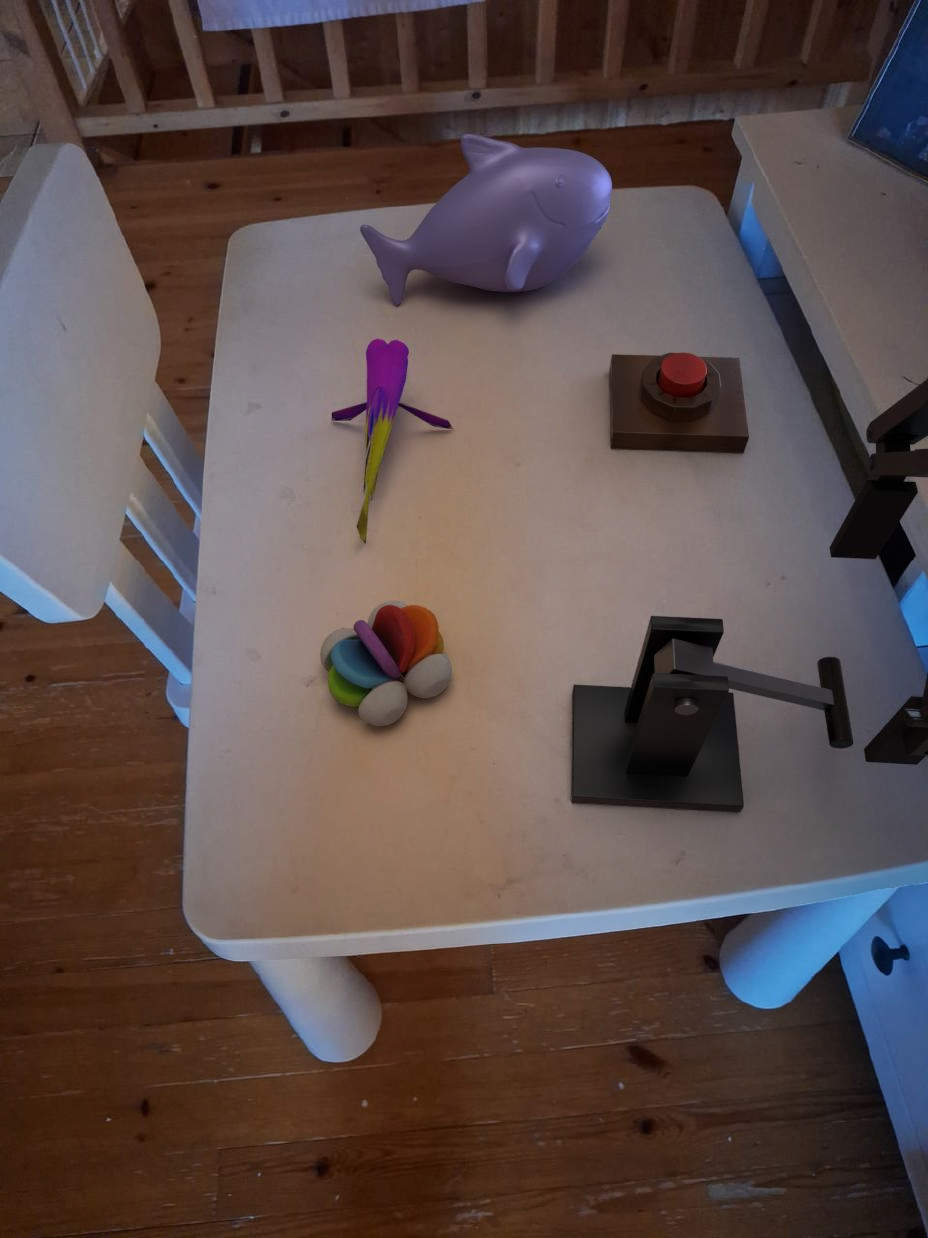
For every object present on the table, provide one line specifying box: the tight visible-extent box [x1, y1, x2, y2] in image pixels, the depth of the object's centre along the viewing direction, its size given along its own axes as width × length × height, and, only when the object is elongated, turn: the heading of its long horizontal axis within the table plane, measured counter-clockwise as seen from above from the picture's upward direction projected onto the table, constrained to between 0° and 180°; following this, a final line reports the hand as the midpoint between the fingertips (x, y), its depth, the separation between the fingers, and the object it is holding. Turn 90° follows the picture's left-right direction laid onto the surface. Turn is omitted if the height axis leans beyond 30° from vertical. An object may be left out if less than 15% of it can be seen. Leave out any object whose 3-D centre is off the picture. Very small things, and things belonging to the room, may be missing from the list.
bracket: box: [570, 615, 745, 813], centre depth 61 cm, size 12×9×15 cm
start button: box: [659, 352, 707, 398], centre depth 81 cm, size 4×4×2 cm
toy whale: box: [359, 133, 613, 307], centre depth 89 cm, size 14×25×16 cm, turn 101°
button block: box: [608, 352, 750, 454], centre depth 83 cm, size 12×10×4 cm
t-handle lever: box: [654, 638, 855, 750], centre depth 57 cm, size 13×6×2 cm, turn 86°
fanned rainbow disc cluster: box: [319, 600, 453, 727], centre depth 68 cm, size 8×10×7 cm
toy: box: [330, 338, 454, 545], centre depth 79 cm, size 12×19×10 cm, turn 173°
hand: (869, 648), depth 53 cm, fingers open, 13 cm apart
